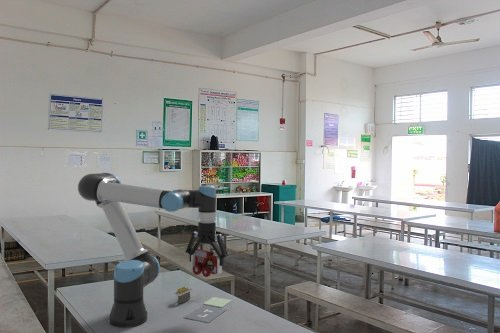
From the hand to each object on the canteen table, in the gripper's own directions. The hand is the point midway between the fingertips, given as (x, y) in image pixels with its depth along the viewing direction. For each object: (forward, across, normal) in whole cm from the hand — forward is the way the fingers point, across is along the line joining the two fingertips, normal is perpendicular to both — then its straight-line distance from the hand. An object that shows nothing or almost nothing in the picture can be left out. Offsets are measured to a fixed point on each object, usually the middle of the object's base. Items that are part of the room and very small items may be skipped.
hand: (206, 271), depth 175 cm
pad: (+18, +2, -14) cm, 23 cm away
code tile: (+18, 0, 0) cm, 18 cm away
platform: (+19, +18, -9) cm, 28 cm away
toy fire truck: (+1, 0, 0) cm, 1 cm away
